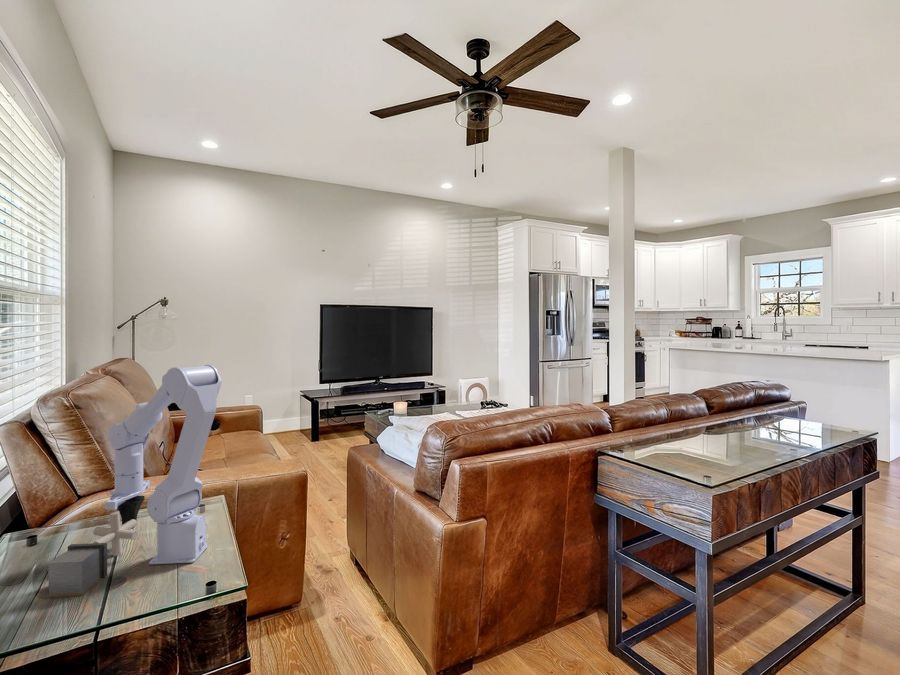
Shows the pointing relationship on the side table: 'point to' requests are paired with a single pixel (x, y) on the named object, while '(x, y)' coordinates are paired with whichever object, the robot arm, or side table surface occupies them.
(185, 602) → the side table surface
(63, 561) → the duct stub
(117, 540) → the pipe connector
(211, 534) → the side table surface
